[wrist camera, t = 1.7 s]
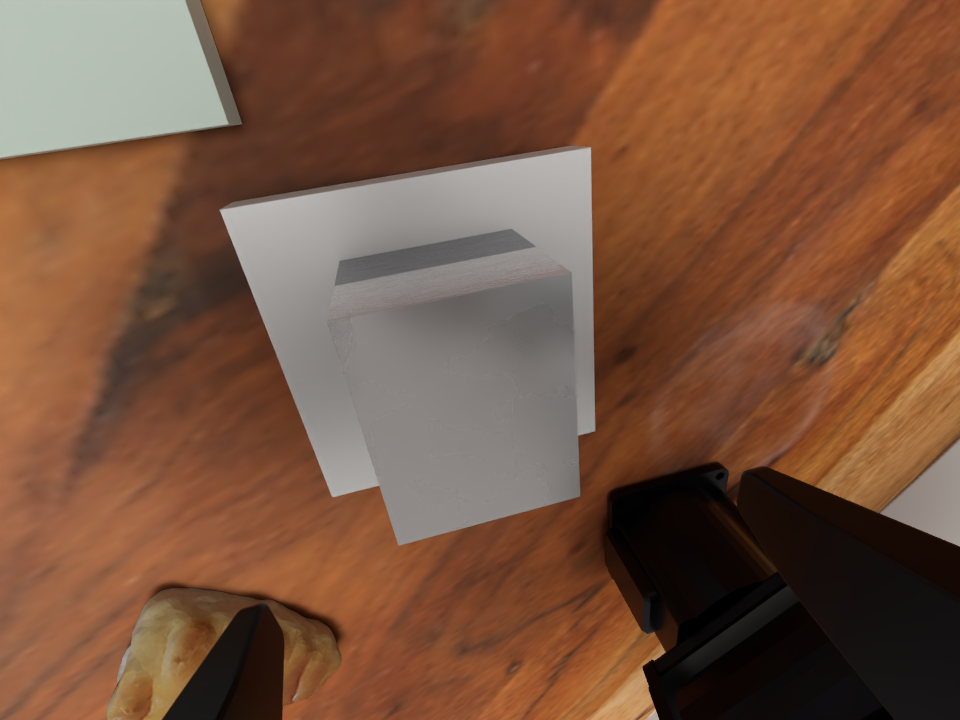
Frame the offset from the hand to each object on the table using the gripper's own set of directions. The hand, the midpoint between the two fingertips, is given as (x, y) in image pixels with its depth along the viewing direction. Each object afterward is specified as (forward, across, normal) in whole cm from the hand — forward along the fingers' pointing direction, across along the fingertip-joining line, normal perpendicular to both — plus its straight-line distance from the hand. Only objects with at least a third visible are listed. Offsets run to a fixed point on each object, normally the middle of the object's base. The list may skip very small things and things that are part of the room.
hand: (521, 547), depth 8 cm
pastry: (+11, +13, +13) cm, 22 cm away
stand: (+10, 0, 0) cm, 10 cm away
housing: (+9, 0, 0) cm, 9 cm away
